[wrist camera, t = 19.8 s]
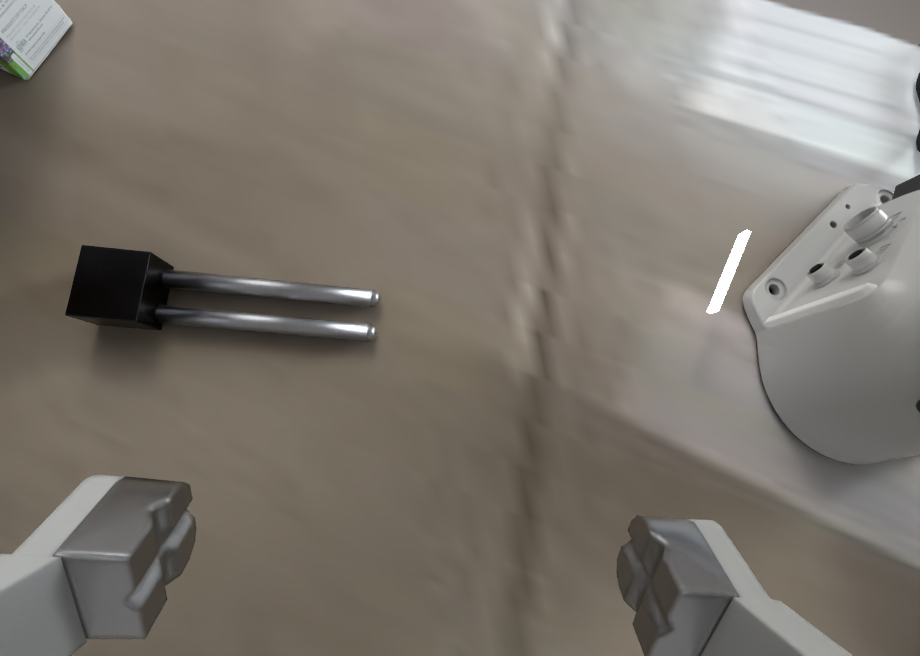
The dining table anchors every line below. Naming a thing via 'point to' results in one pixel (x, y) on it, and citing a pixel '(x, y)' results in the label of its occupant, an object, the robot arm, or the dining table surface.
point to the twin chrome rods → (149, 279)
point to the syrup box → (29, 34)
